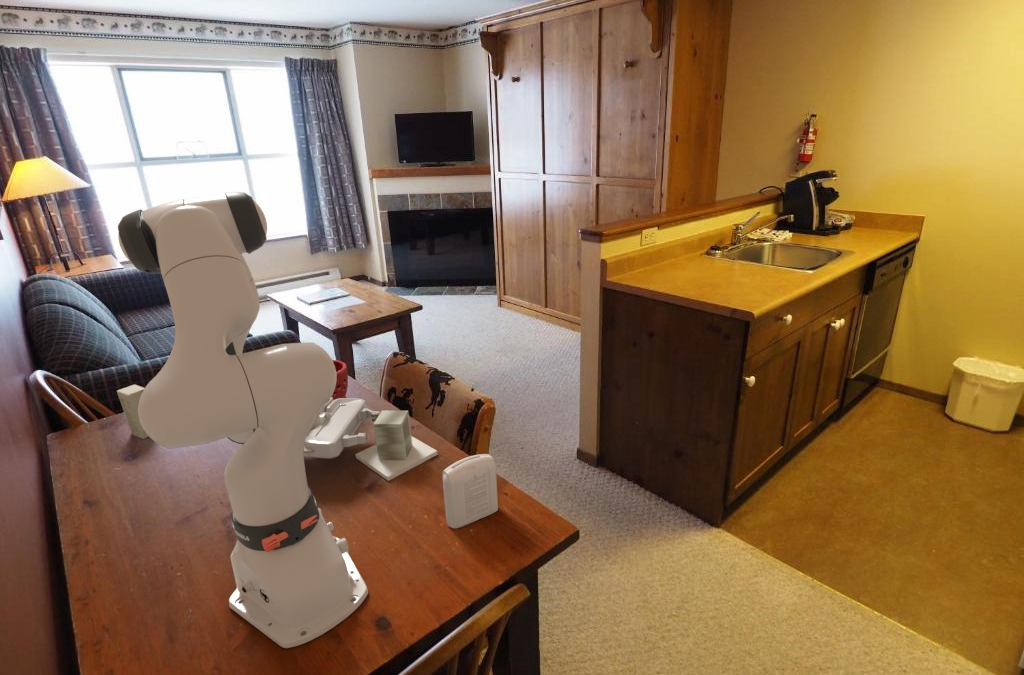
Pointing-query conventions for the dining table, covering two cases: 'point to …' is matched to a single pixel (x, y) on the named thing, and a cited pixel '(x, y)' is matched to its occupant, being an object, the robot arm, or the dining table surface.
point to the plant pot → (340, 380)
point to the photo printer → (470, 490)
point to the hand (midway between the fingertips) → (373, 426)
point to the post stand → (396, 467)
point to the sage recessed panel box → (393, 435)
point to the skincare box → (132, 408)
